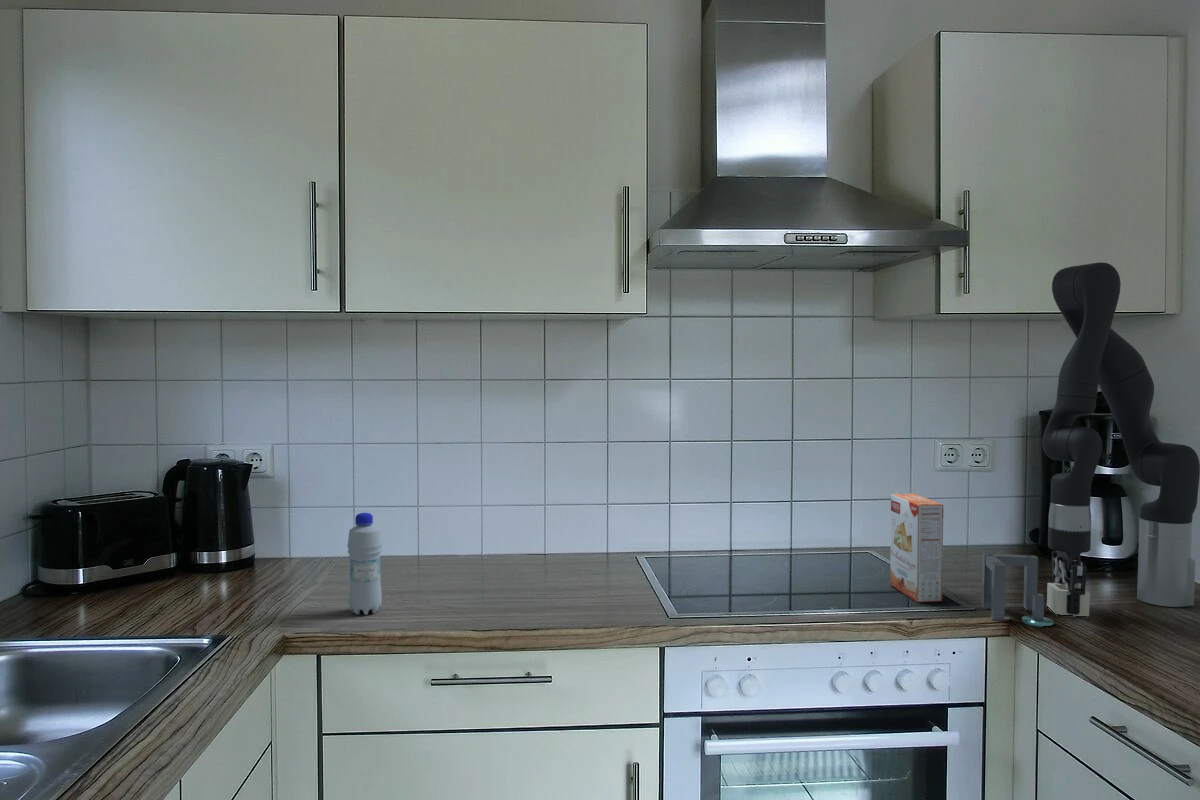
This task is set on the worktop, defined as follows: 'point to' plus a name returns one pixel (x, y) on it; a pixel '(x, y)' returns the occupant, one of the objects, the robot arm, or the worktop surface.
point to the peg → (1037, 613)
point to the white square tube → (1065, 600)
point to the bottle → (364, 565)
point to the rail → (996, 581)
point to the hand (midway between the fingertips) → (1067, 608)
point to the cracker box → (916, 547)
